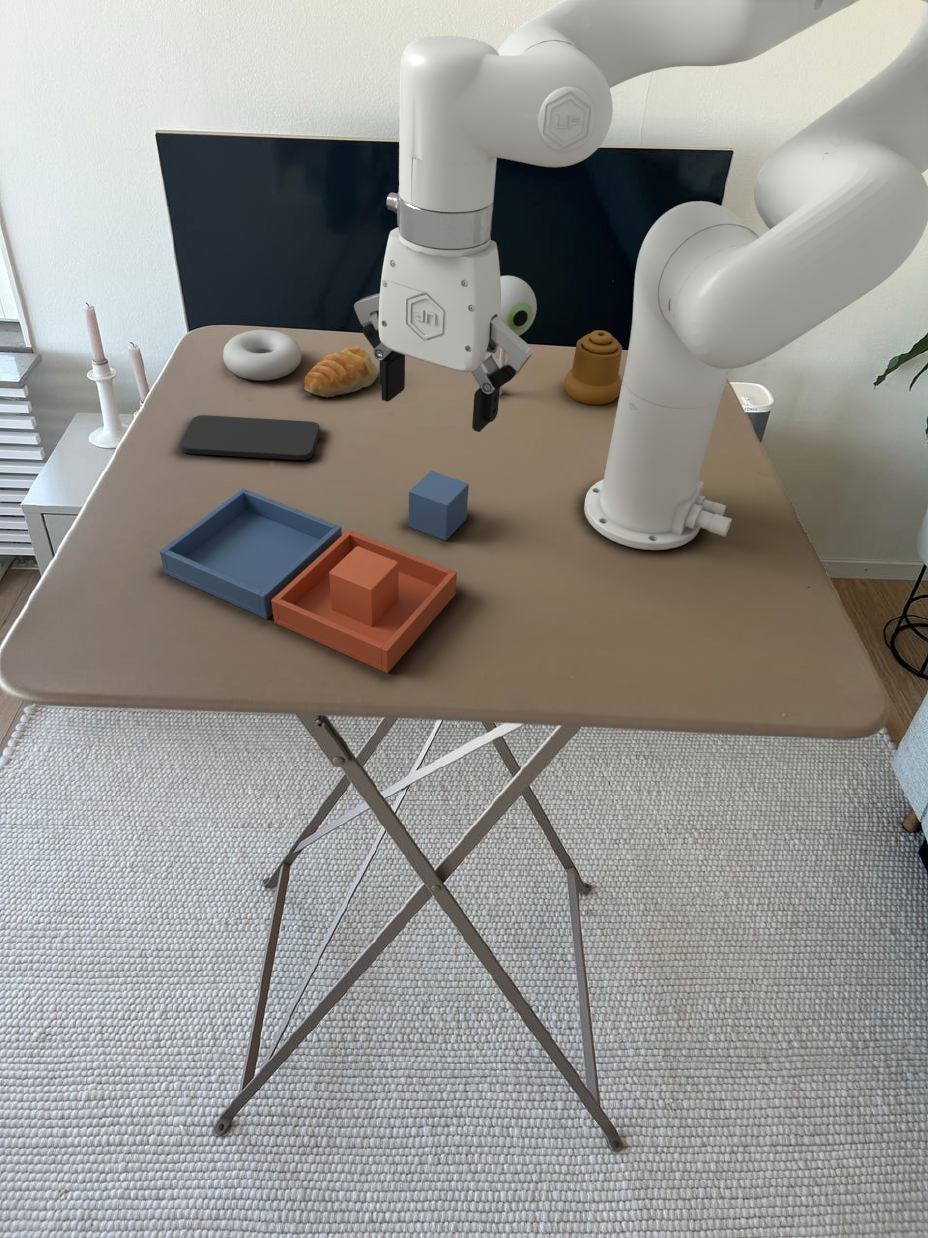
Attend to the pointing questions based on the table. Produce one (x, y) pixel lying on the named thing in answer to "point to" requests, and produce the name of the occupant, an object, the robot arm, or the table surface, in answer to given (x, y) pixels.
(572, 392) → the ornamental finial
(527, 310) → the lollipop
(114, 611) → the table surface
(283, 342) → the donut
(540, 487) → the table surface
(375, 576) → the terracotta block
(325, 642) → the terracotta bin
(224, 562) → the slate bin
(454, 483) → the slate block
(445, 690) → the table surface
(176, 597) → the table surface
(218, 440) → the phone
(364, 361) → the pastry
